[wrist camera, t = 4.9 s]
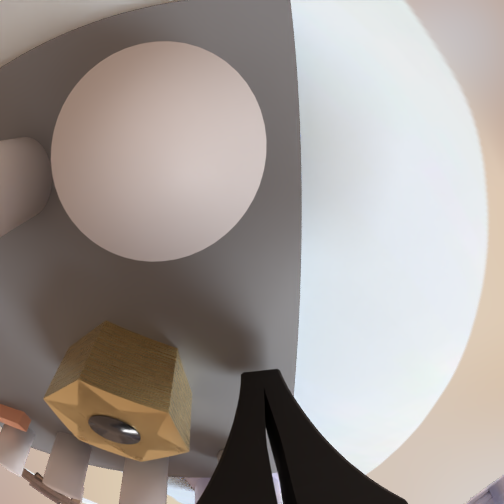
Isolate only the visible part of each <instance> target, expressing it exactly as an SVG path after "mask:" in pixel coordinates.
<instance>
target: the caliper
mask: <svg viewBox="0 0 504 504" xmlns="http://www.w3.org/2000/svg"><path fill="white" fill-rule="evenodd" d="M22 477H23V478H24V479H26V480H27V481H28V482H30V486H32V487H33V488H34V489H36V490H37V491H39V492H40V493H42V494H43V495H44V496H46V497H47V498H49V499H51V500H52V501H54V502H55V503H57V504H60V503H61V504H81V503H82V498H83V493H84V487H83V491H82V496H81V500H77V499H73V498H71V499H69V498H68V497H66V496H65V495H63V494H60V493H58V492H56V491H54V490H52V489H51V488H49V487H47V486H46V485H45V484H43V483H42V481H43V478H44V477H42V476H41V475H40V474H39V473H36V474H35V475H33V474H31V473H30V472H28V471H27V470H26V469H23V472H22Z"/></svg>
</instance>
